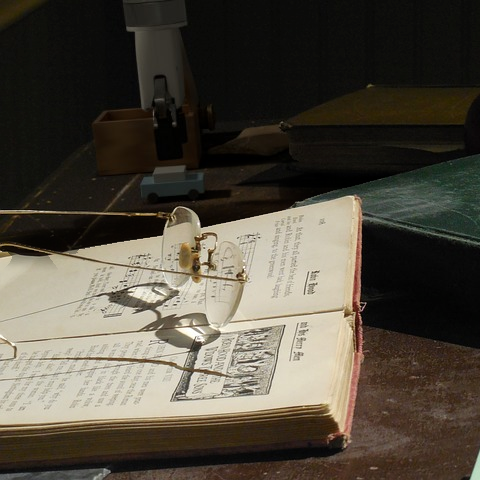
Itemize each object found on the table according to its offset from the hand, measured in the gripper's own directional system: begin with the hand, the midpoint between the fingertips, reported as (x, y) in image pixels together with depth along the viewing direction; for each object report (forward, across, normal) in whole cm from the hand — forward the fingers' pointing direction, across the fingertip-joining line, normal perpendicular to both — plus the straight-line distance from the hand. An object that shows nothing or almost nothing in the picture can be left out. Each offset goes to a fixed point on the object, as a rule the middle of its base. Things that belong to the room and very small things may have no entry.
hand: (173, 151), depth 123 cm
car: (+6, 0, -1) cm, 6 cm away
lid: (-10, -22, 0) cm, 24 cm away
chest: (+6, -22, -6) cm, 24 cm away
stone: (+7, -26, +10) cm, 29 cm away
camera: (+6, -37, 0) cm, 37 cm away
